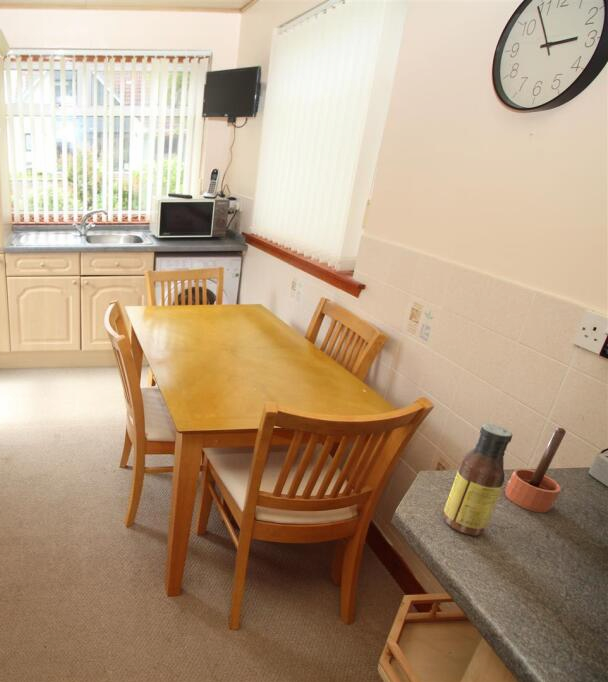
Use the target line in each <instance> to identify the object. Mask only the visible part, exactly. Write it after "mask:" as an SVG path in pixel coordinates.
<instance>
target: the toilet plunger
mask: <svg viewBox="0 0 608 682" xmlns="http://www.w3.org/2000/svg"><path fill="white" fill-rule="evenodd" d="M566 433H567V431H566V429H565V428H563V427H557V428H555V430H554V432H553V434H552V436H551V438H550V439H549V442H548V444H547V446H546V448H545V450H544V452H543V454H542V455H541V458H540V460H539V463H538V465H537V466H536V468H535V470H534V471H535V473H534V475H533V477H532V479H531V481H530V483H529V484H530V485H532V486H534V487H537V488H538V487H539V485H540V483H541V481H542V479H543V477H544V475H546V473H547V472H548V470H549V468H550V466H551V463H552V461H553V459H554V457H555V455H556V453H557V451H558V449H559V447H560V445H561V443H562V441H563V439H564V437H565V435H566Z"/></svg>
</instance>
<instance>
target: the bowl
mask: <svg viewBox="0 0 608 682" xmlns="http://www.w3.org/2000/svg"><path fill="white" fill-rule="evenodd" d="M535 471H536V470H533V469H528V468H516V469H513V472H512V474H511V476H510V478H509V480H508V482H507V485H506V486H505V492H504V493H505V496H506V498H507V499H508V500H510V501H511V502H512V503H514V504H515V505H516V506H519V507H521V508H522V509H525V510H528V511H531V512H535V513H540V514H542V513H548V512H549V511H550V509H551V510H552V508H553V506H554V505H555V503H556V501H557V499H558V497H559V495H560V493H561V491H562V487H561V484H559V483H558V482H557V481H556V480H555V479H553V478H551V477H550V476H548V475H546V474H545V475H544V477H543V479H542V481H541V483H540V485H539V487H538V488H537V487H534V486H532V485H530V484H529V483H530V481H531V479H532V477H533V475H534V473H535Z"/></svg>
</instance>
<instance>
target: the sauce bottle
mask: <svg viewBox="0 0 608 682" xmlns="http://www.w3.org/2000/svg"><path fill="white" fill-rule="evenodd" d="M479 433H480V435H479V437H478V441H477V443H476V444H475V448H473V449H471V450H469V451H468V452H466V453H465V454H464V456H463V457H462V459H461V463H460V465H459V468H458V469H457V471H456V474H455V478H454V480H453V483H452V485H451V489H450V491H449V495H448V498H447V500H446V503H445V505H444V508H443V520H444V522H445V523H446V524H447V525H449V526H450V527H451V528H452V529H453V530H455V531H457V532H459V533H461V534H464V535H468V536H473V537H475V536H480V535H482V534H484V531H485V529H486V528H487V526H488V524H489V521H490V519H491V516H492V514H493V511H494V508H495V506H496V503H497V501H498V499H499V497H500V493H501V490H502V488H503V486H504V482H505V471H504V469H505V468H504V457H505V453H506V450H507V447H508V445H509V443H511V442H512V438H513V432H512V431H510V430H509V429H508V428H506V427H503V426H501V425H497V424H492V423H484V424H482V425H481V428H480V430H479Z"/></svg>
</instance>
